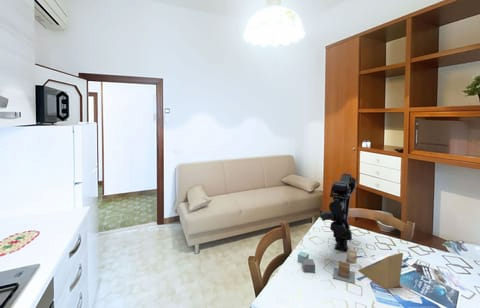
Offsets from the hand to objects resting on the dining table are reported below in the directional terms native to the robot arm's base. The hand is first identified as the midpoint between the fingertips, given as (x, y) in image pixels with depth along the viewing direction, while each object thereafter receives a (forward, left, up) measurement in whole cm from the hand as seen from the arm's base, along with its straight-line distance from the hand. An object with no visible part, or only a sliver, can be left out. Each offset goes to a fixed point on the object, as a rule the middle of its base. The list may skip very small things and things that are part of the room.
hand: (337, 237), depth 125 cm
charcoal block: (+14, -12, -12) cm, 22 cm away
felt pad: (+12, +4, -12) cm, 17 cm away
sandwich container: (+7, +18, -12) cm, 23 cm away
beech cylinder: (-3, +7, -12) cm, 14 cm away
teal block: (+8, -15, -12) cm, 21 cm away
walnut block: (+12, +4, -12) cm, 17 cm away
